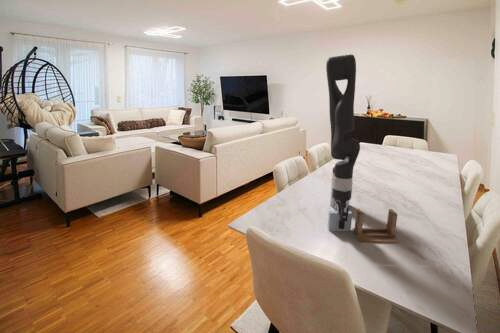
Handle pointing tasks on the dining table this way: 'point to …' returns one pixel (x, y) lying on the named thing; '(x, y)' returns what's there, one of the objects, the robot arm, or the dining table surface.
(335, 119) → the robot arm
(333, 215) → the door panel
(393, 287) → the dining table surface
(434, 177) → the dining table surface
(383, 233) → the frame
